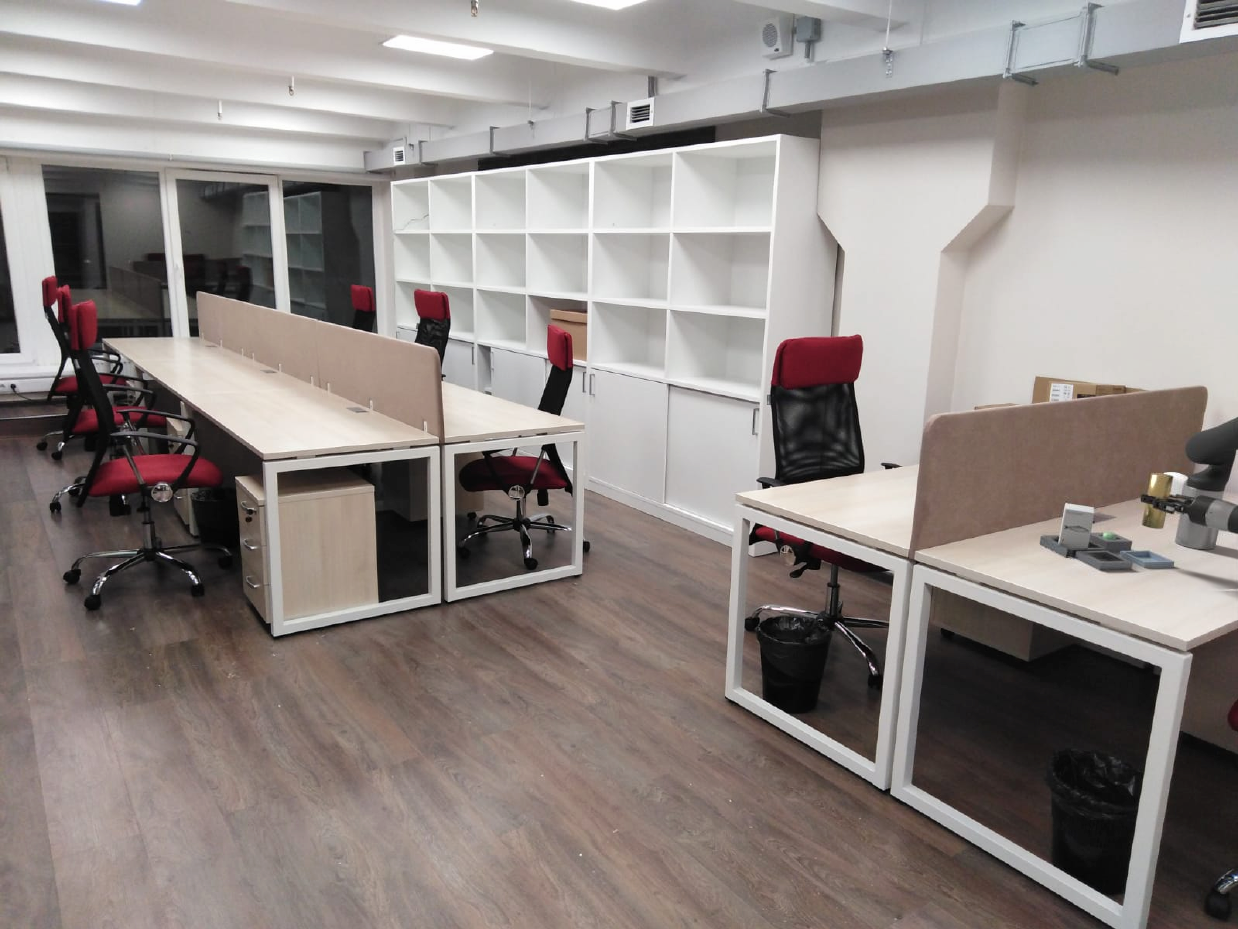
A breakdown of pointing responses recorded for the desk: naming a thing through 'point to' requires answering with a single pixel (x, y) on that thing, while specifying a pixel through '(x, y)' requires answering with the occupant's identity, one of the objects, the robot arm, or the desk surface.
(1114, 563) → the gray compartment tray
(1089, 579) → the desk surface
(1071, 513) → the supplement box
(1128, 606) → the desk surface
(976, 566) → the desk surface
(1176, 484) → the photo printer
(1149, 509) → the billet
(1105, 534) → the button
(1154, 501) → the robot arm
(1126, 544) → the grey square socket block
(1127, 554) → the tote tray
